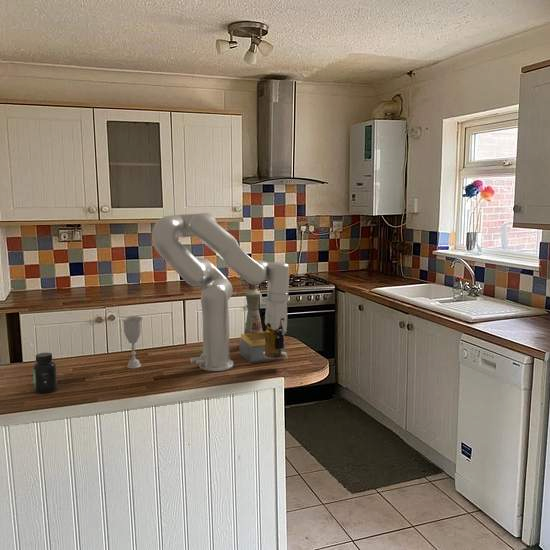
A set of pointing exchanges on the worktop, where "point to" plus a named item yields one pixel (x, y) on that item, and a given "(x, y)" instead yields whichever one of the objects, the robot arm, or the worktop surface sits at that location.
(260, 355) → the gold-rimmed square tray
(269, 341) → the condiment
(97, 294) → the worktop surface
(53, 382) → the supplement bottle
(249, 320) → the bottle
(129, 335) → the chalice
